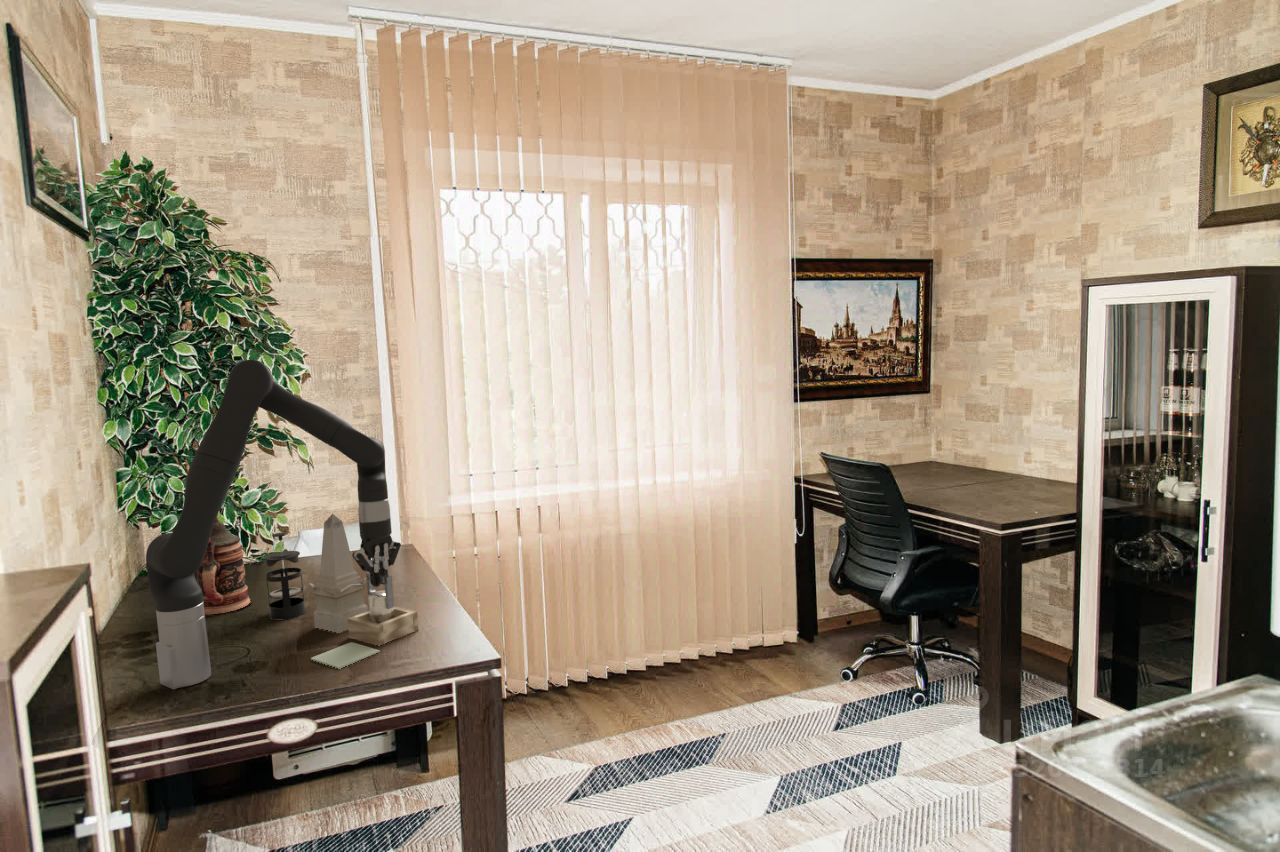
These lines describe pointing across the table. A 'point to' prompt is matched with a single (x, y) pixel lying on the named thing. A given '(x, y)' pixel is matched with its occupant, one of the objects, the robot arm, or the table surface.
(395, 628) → the holder
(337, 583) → the miniature monument
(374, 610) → the pail
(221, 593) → the beer stein
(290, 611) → the french press
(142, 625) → the table surface
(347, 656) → the mat
